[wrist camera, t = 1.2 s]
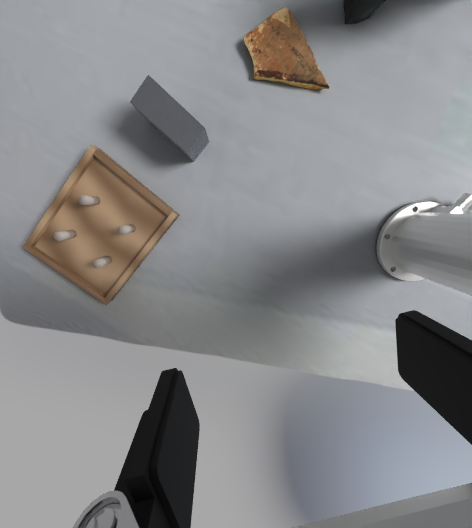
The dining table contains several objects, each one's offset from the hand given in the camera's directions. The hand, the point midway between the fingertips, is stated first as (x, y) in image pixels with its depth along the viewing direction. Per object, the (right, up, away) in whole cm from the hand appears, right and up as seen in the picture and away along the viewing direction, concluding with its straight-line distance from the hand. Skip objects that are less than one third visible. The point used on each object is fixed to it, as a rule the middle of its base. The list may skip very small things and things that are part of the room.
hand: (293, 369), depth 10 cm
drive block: (-10, +23, +23) cm, 34 cm away
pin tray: (-22, +10, +25) cm, 35 cm away
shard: (+5, +33, +21) cm, 39 cm away
